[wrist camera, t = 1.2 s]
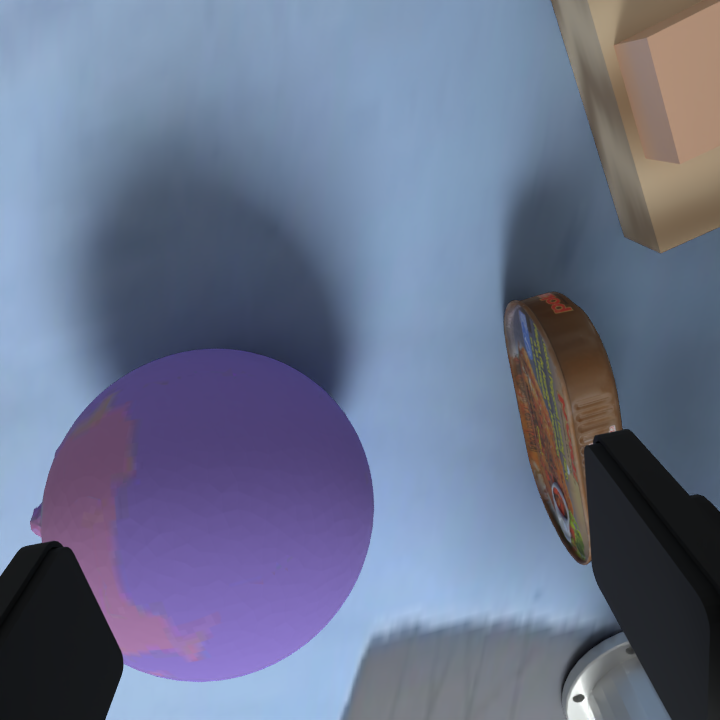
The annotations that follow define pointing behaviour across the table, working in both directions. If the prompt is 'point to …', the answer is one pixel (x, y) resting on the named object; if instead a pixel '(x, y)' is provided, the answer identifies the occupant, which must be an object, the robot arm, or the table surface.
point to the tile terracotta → (675, 83)
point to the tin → (560, 404)
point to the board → (619, 132)
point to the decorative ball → (212, 511)
